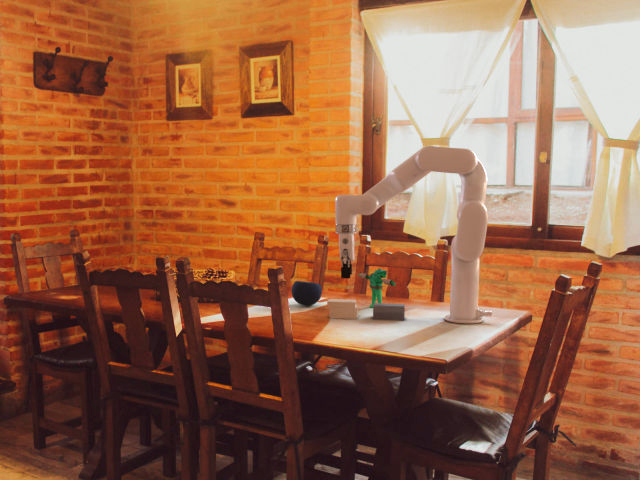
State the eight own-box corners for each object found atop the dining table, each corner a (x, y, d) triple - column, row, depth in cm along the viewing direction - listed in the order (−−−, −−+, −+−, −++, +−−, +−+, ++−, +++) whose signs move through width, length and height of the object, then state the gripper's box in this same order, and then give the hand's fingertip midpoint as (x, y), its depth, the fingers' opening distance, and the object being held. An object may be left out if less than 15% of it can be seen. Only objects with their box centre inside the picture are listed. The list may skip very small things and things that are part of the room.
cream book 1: (356, 304, 274) (356, 299, 274) (355, 307, 268) (355, 302, 268) (328, 304, 276) (328, 298, 276) (327, 307, 270) (327, 301, 270)
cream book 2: (357, 310, 274) (357, 305, 274) (357, 313, 268) (357, 307, 268) (330, 309, 276) (330, 304, 276) (329, 312, 270) (329, 307, 270)
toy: (404, 313, 279) (405, 273, 277) (390, 314, 276) (390, 274, 274) (368, 302, 302) (368, 265, 301) (354, 303, 300) (354, 266, 298)
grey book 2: (404, 317, 270) (404, 310, 270) (404, 320, 266) (404, 313, 265) (373, 316, 273) (373, 309, 272) (372, 319, 268) (373, 312, 268)
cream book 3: (357, 315, 274) (358, 310, 274) (357, 318, 268) (357, 313, 268) (330, 314, 276) (330, 309, 276) (329, 317, 271) (329, 312, 270)
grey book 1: (404, 310, 270) (404, 304, 270) (404, 313, 265) (404, 306, 265) (373, 309, 272) (373, 303, 272) (373, 312, 268) (373, 305, 267)
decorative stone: (320, 308, 288) (321, 283, 287) (290, 308, 290) (290, 282, 289) (322, 303, 300) (322, 278, 299) (292, 302, 302) (292, 278, 300)
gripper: (355, 231, 259) (355, 279, 261) (357, 227, 276) (358, 273, 278) (333, 231, 261) (334, 279, 263) (337, 227, 278) (337, 273, 280)
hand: (346, 276), depth 271 cm, fingers open, 9 cm apart
